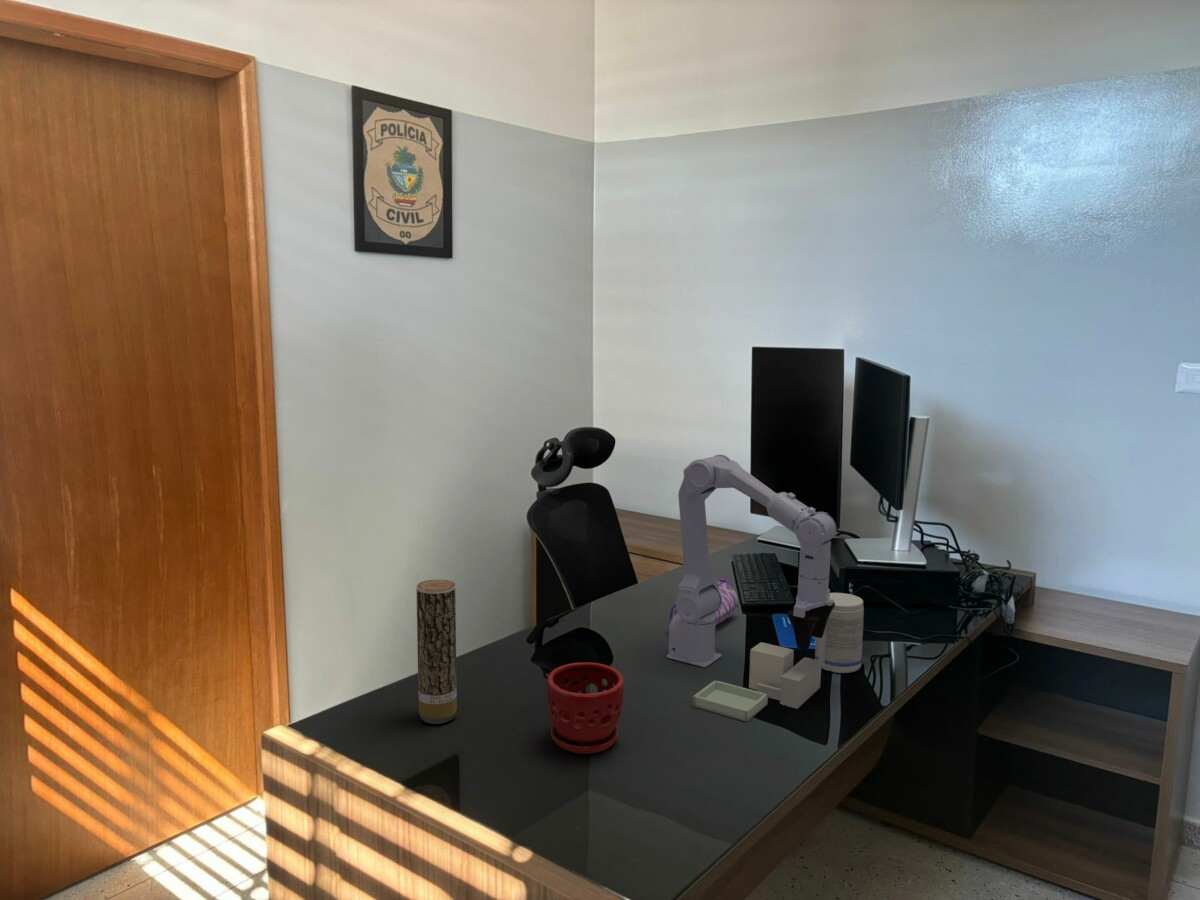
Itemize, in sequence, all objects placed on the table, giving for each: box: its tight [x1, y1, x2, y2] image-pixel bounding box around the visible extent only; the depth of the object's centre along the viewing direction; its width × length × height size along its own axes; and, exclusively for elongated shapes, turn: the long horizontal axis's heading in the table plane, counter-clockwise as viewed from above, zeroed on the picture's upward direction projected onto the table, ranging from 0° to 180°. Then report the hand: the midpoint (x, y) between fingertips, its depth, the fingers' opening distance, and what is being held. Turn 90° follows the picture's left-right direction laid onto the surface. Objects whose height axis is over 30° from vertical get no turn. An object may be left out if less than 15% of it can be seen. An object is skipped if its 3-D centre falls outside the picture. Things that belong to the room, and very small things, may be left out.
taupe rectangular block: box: [748, 641, 795, 691], centre depth 175 cm, size 8×5×8 cm, turn 56°
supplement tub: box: [814, 592, 865, 674], centre depth 186 cm, size 10×10×15 cm
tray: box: [692, 680, 769, 723], centre depth 167 cm, size 11×9×2 cm
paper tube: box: [415, 579, 458, 719], centre depth 158 cm, size 7×7×25 cm
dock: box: [756, 656, 822, 710], centre depth 173 cm, size 9×12×6 cm
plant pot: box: [546, 661, 625, 754], centre depth 151 cm, size 13×13×12 cm
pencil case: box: [669, 578, 739, 626], centre depth 209 cm, size 22×9×10 cm, turn 148°
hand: (809, 642), depth 173 cm, fingers open, 7 cm apart
